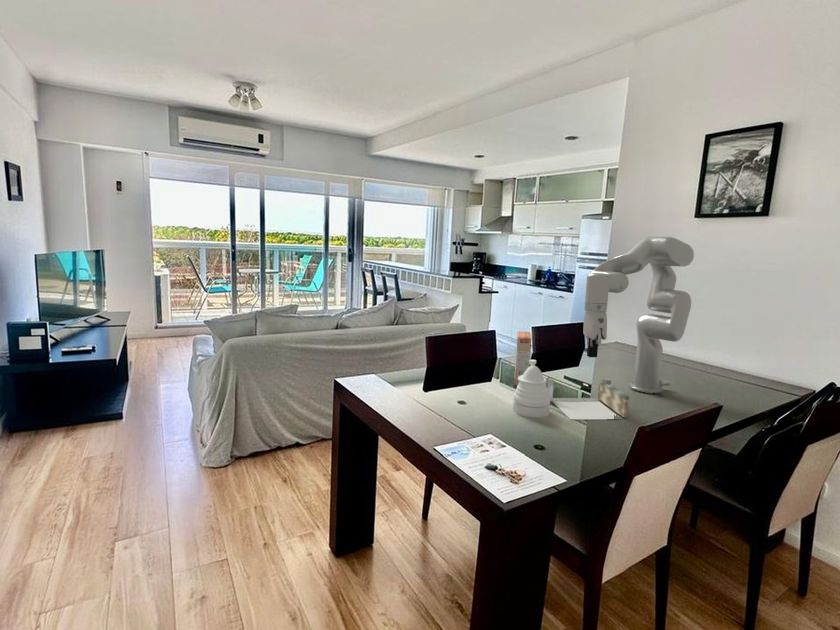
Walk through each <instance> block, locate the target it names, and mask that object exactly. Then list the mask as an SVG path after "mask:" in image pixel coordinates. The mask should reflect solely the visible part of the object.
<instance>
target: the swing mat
mask: <svg viewBox="0 0 840 630" xmlns="http://www.w3.org/2000/svg"><path fill="white" fill-rule="evenodd" d="M552 403H553V404H554V405H555V406H556V407H557V408H558V409H559V411H561V412H562V413H563V414H564V415H565V416H566V418H568V419H569V421H608V420H607V419H614V415H615V416H616V415H617V414H616V412H614V411H612V410H611V408H608V406H606V405H605V404H604V403H603V402H552Z"/></svg>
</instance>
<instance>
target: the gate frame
mask: <svg viewBox="0 0 840 630" xmlns="http://www.w3.org/2000/svg"><path fill="white" fill-rule="evenodd" d="M546 380H547V382H546V387H547V388H548V393H549V396H550V403H553V402H601V403H603V402H602V401H601V400H600V399H598V397H553V396H554V385H555V384H554V383H555V380H554V379H553V378H552V377H551V378H546ZM603 380H604V381H606V382H607V383H609V384H610V385H612V380H611V379H610V378H603Z"/></svg>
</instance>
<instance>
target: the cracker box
mask: <svg viewBox="0 0 840 630" xmlns="http://www.w3.org/2000/svg"><path fill="white" fill-rule="evenodd" d="M515 346H516V348H515V361H514V362H515V363H514V386H518V384H519V382H520V381H519V380H518V377H519V376H521V375H523V374H524V372H525V371H526V370H527V369H528V368H529V367H530V366H531V365H530V363H529V360H531V352H532V351H531V348H532V335H531V331H530V332H529V331H517V333H516V345H515Z"/></svg>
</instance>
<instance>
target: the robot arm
mask: <svg viewBox="0 0 840 630" xmlns="http://www.w3.org/2000/svg"><path fill="white" fill-rule="evenodd" d="M694 256H695V253H694V249H693V247H692V246H691V245H690V244H688V243H686V242H684V241H682V240H679V239H678V238H675V237H672V236H648V237H647V236H645V237H643V238H642V239H640V241H638V242H636V244H635V245H634V246H633V247H632V248H630V249H629V250H628V251H626V253H624V254H621V255H619V256H616V257H613V258H611V259H608V260H606V261H604V262H601V263H600V264H599V265H598V266H596V267H595V268H594V269H593V270H592V271H591V272H590V273H588V274H587V276H586V287H585V297H584V298H585V299H584V319H583V327H582V328H583V329H582V330H583V331H582V333H583V335H584V336H585V338H586V344H587V346H586V347H587V348H586V349H587V350H586V356H587V357H588V358H597V357H598V354H599V353H598V351H599V346H600V344H602V340H603V341H606V339H607V336H608V335H607V334H608V316H607V315H608V314H607V312H608V300H609V293H613V294H620V293H623V292H624V291H626V289H627V288H628V287H629V282H630V281H629V277H628V276H627V275H632V274H636V273H638V272H641V271H643V269H644V268H645V267H647V265H648V264H649V265H650V267H651V270H652V281H651V285H650V289H649V292H648V297H647V301H646V306H647V308H648V309H649V310H650V311H654V312H658V313H665V314H671V315H670V316H666V315H661V314H654V313H645V314H642V315H640V316H639V317H638V318H637V320H636V335H637V345H636V353H635V365H634V374H633V375H634V376H633V381H632V382H630V383H629V385H628V387H629V386H630V387H631V388H632V389H631V388H630V387H629V388H630V389H631V390H633V389H635V390H637V391H636V392H639V391H641V392H640V393H643V392H645V394H653V393H655V394H660V393H662V392H663V390H664V389H663V387H664V386H665V387H667V386H668V387H670V386H671V385H672V384H671V381H670V380H664V379H661V377H660V376H661V368H662V359H663V344H662V342H661V340H662V341H667V342H679V341H680V340H681V339H682V338H683V336H684V334H685V330H686V327H687V323H688V320H689V315H690V312H691V310H692V309H691V308H692V297H691V294H689V293H688V292H687V291H684V290H678V289H675V288H676V283H677V275H676V273H675V271H674V269H673V268H672V267H687V266H689V265H690V264H691V263H692V262H693V260H694ZM635 390H634V391H635Z"/></svg>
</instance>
